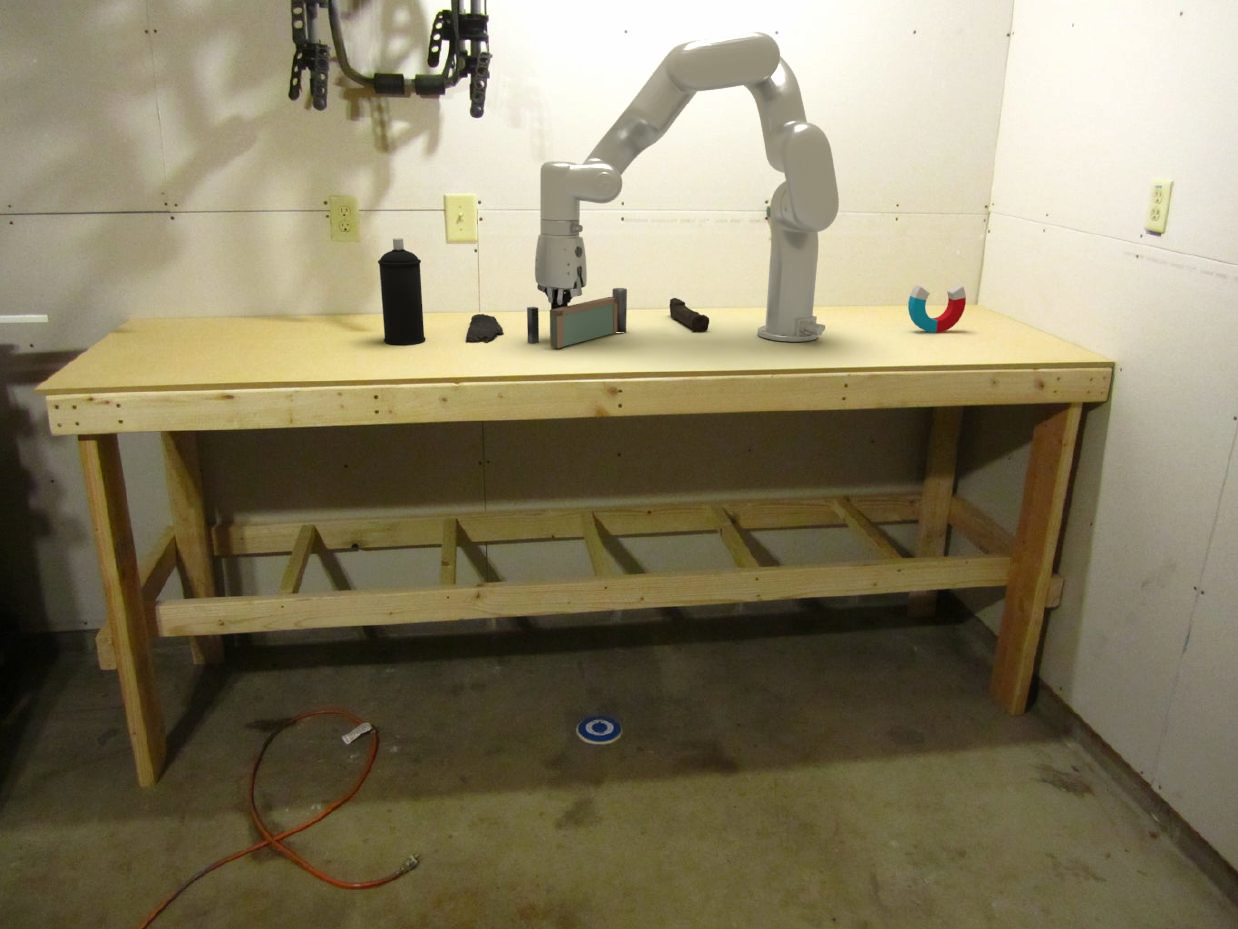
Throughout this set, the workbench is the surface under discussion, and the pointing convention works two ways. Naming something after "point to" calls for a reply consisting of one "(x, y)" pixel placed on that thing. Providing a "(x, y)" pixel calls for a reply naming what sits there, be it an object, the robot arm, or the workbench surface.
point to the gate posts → (621, 316)
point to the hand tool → (688, 316)
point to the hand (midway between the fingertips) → (559, 322)
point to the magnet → (943, 321)
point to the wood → (483, 329)
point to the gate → (583, 321)
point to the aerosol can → (401, 296)
